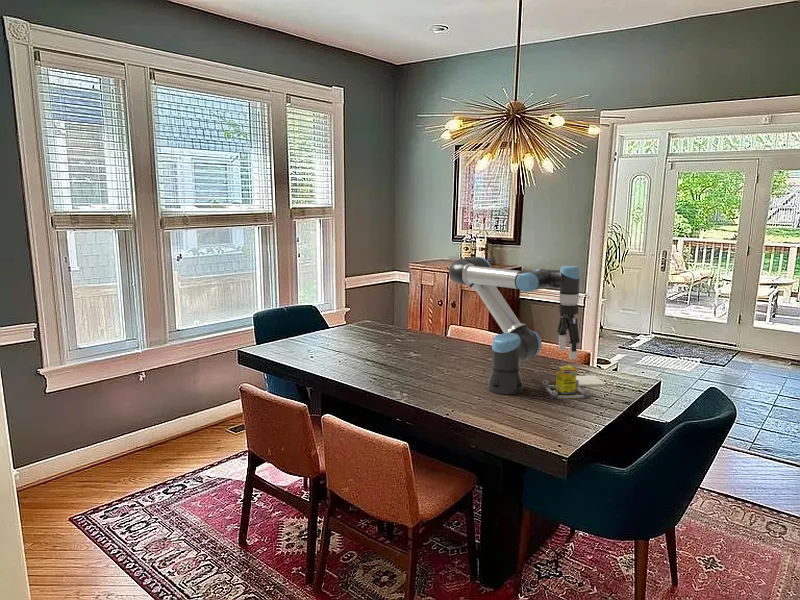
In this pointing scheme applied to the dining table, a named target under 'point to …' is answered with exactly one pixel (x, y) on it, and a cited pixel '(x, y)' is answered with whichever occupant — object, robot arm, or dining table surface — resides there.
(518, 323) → the robot arm
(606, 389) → the dining table surface
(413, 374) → the dining table surface
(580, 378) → the plate
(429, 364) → the dining table surface
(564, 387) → the supplement box
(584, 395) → the grey rod square frame
